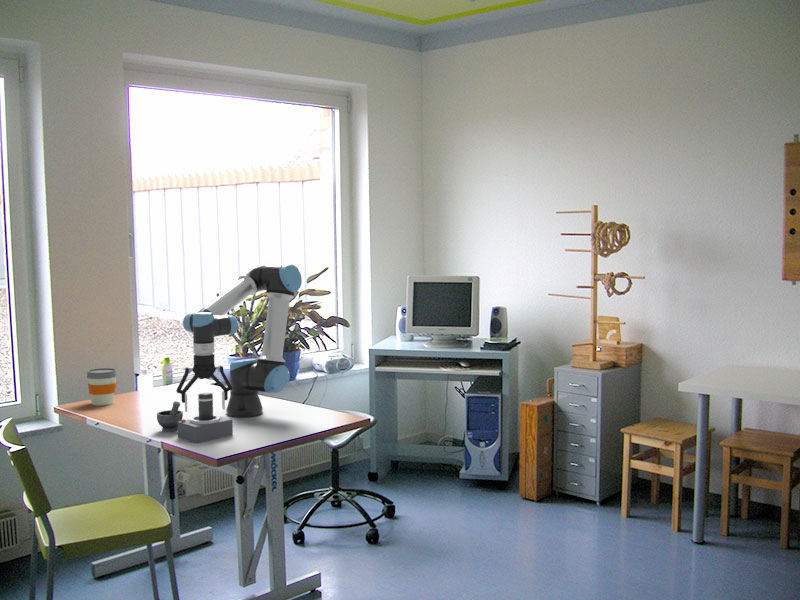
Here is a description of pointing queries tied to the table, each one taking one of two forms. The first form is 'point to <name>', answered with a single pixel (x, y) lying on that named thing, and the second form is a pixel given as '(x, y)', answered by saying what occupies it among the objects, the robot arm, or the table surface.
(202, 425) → the dark grey box
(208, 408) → the lens
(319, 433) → the table surface
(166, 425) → the mortar and pestle
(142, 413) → the table surface
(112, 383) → the reusable coffee cup
